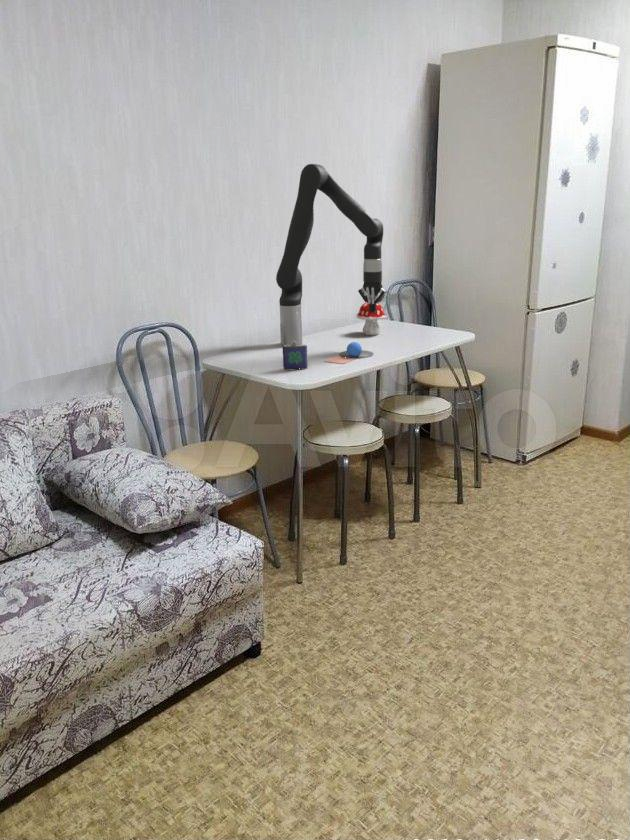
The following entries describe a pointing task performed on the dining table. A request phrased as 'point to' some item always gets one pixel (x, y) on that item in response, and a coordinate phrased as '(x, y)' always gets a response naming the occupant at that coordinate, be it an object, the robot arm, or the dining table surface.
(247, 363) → the dining table surface
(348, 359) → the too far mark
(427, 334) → the dining table surface
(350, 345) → the ball
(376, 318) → the decorative mushroom
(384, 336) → the dining table surface
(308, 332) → the dining table surface
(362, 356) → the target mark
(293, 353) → the flask
